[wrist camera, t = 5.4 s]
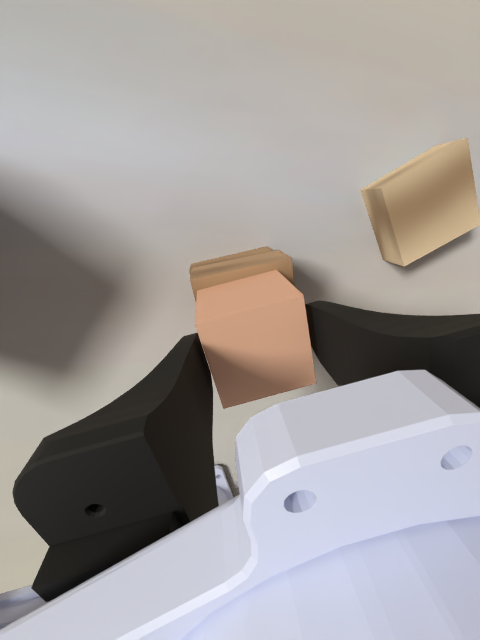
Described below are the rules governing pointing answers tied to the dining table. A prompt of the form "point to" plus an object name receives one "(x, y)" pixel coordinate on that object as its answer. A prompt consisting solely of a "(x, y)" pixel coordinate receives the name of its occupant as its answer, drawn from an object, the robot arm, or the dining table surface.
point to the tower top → (241, 269)
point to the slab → (423, 203)
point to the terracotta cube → (255, 337)
